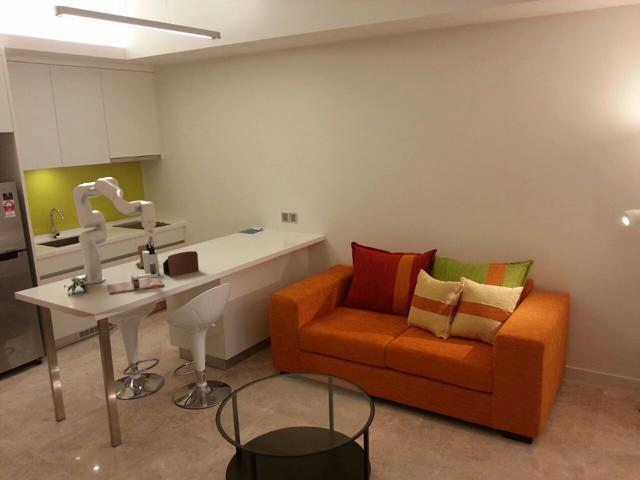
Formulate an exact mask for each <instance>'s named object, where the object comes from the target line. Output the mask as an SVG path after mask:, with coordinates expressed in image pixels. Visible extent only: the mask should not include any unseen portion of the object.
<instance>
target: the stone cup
mask: <svg viewBox="0 0 640 480" xmlns="http://www.w3.org/2000/svg"><path fill="white" fill-rule="evenodd" d="M142 251H147V249H146V243H144V244H143V243H142V244H138V245H137V252H138V255H139V258H140V261H139V262H137V263H135V266H136V267H137V268H139V269H140V268H144V263H143V255H142Z"/></svg>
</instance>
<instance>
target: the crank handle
mask: <svg viewBox="0 0 640 480" xmlns="http://www.w3.org/2000/svg"><path fill="white" fill-rule="evenodd" d="M150 272H151V273H150V274H145V273H144V274H135V275H134V276H132V280H144V279H150V278H157V277H158V276H159V275H158V274H159V273H156V264H155V263H150Z"/></svg>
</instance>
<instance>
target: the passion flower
mask: <svg viewBox="0 0 640 480" xmlns="http://www.w3.org/2000/svg"><path fill="white" fill-rule="evenodd" d="M80 277H81V276H80ZM81 278H82V279H83V280H85V281H87V280H86V279H85V278H83V277H81ZM70 280H71V281H72V284H71V285H69V286H66V284H64V286H63V288H64V289H65V288H67V293H69V291H71V295H73V293H74V292H75V291H76V289H77V287H78V286H79V287H80V288H81V289H83V291H84V292H85V293H87V292H88V289H89V288H90V287H89V284H85V283H84V282H83V280H79V279H77V277H72V278H70Z"/></svg>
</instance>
